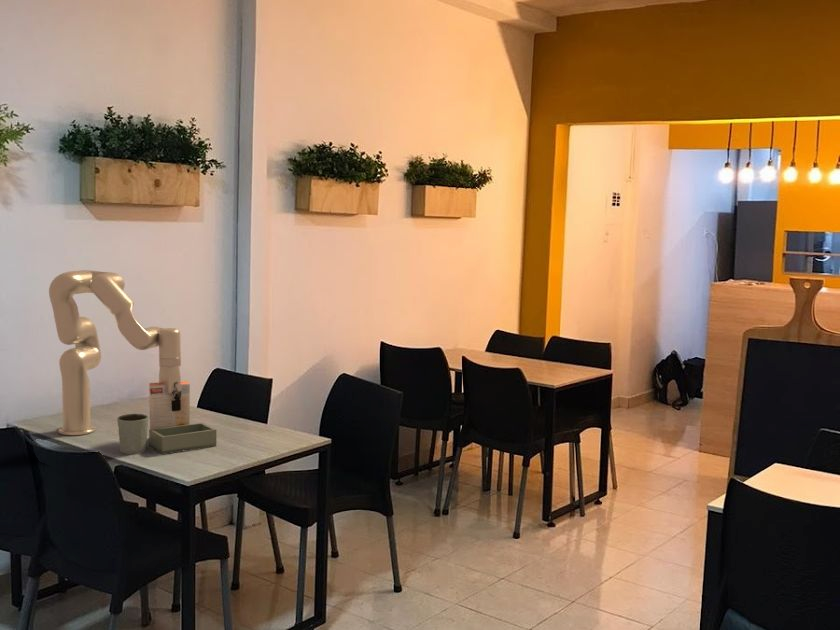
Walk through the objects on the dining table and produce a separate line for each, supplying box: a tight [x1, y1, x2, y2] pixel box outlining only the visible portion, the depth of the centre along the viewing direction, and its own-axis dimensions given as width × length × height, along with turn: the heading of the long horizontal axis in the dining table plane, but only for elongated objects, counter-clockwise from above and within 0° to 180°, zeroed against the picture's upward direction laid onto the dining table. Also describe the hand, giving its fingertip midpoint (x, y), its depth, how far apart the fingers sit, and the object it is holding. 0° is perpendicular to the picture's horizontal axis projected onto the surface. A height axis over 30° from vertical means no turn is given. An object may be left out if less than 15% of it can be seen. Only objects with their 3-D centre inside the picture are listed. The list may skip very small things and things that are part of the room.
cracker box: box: [148, 380, 191, 430], centre depth 310 cm, size 14×6×21 cm, turn 111°
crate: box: [148, 422, 217, 455], centre depth 302 cm, size 12×20×6 cm, turn 129°
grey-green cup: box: [116, 413, 149, 455], centre depth 294 cm, size 10×10×12 cm
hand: (170, 408), depth 310 cm, fingers open, 9 cm apart
